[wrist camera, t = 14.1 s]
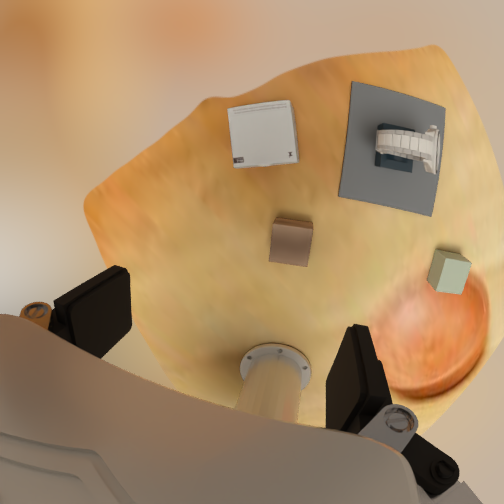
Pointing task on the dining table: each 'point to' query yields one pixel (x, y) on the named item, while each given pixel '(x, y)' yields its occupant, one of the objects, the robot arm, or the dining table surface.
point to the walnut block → (291, 241)
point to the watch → (407, 148)
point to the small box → (263, 134)
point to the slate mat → (364, 150)
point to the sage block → (448, 272)
